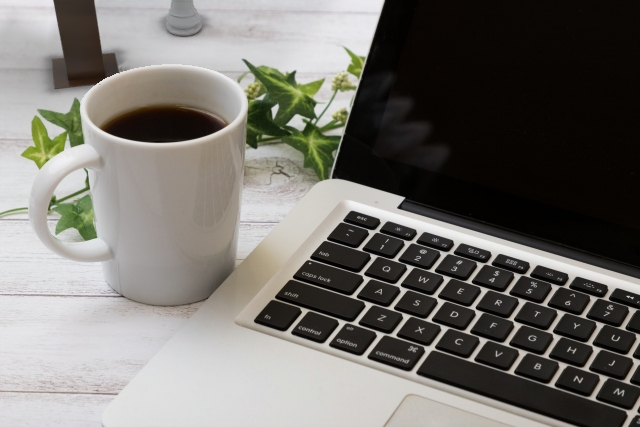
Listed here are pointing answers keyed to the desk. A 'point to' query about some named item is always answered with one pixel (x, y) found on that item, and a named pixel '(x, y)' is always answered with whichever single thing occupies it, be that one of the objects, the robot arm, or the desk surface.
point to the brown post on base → (80, 46)
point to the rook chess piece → (183, 18)
